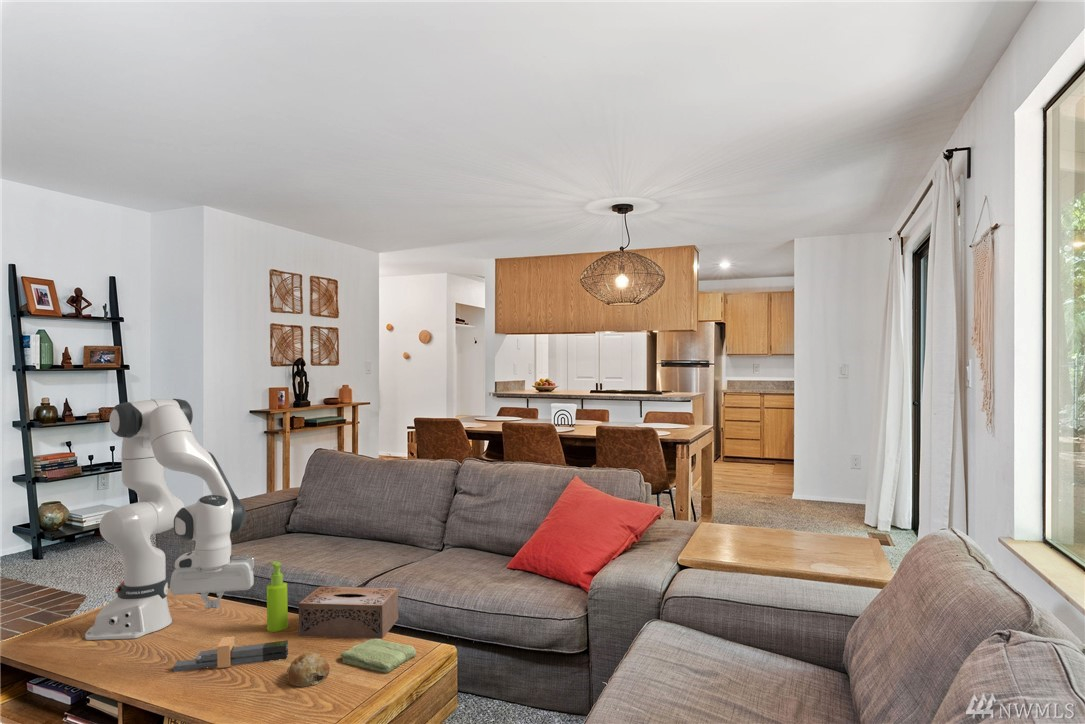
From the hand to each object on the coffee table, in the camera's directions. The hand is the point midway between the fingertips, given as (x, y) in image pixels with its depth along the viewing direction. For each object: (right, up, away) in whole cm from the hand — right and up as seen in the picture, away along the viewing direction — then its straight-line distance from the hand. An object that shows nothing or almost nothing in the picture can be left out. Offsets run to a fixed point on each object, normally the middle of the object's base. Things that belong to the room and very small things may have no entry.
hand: (212, 607), depth 172 cm
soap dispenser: (+7, -16, +24) cm, 30 cm away
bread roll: (+29, -16, -8) cm, 33 cm away
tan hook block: (+4, -15, 0) cm, 16 cm away
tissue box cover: (+30, -16, +24) cm, 41 cm away
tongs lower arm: (+5, -15, +1) cm, 16 cm away
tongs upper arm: (+7, -13, +1) cm, 15 cm away
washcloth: (+44, -16, +3) cm, 47 cm away
